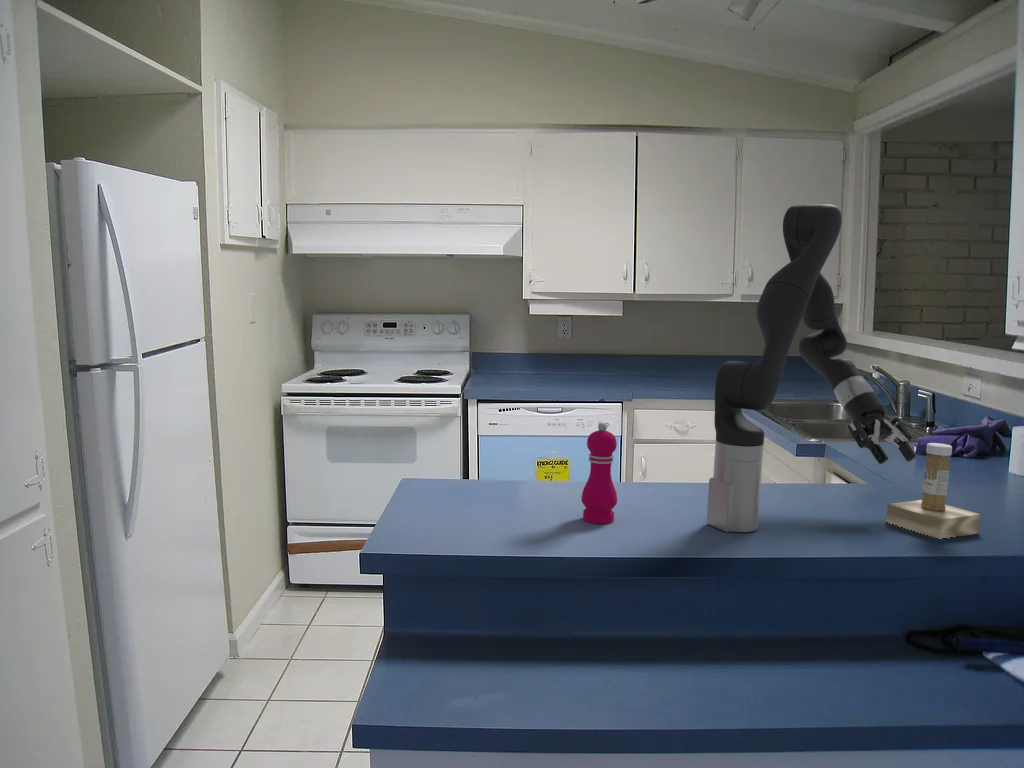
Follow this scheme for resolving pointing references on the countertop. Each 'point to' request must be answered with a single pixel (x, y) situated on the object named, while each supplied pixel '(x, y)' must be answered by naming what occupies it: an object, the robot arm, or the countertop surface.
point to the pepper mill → (600, 478)
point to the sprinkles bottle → (936, 476)
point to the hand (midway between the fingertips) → (898, 460)
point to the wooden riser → (933, 519)
